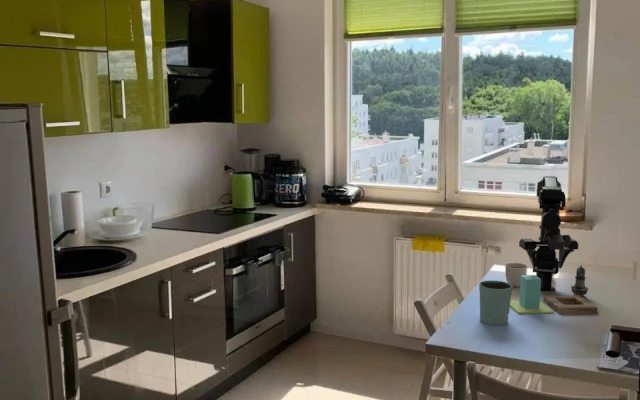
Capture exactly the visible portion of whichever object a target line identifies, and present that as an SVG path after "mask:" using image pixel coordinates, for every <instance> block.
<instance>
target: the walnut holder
mask: <svg viewBox="0 0 640 400" xmlns="http://www.w3.org/2000/svg"><path fill="white" fill-rule="evenodd" d="M542 303H544V304H545V305H546V306H547V307H549V308H550V309H551V310H552V311H554V312H556V313H557V314H558V315H563V314H566V315H567V314H570V315H571V314H573V315H575V314H576V315H577V314H598V311H599V310H598V309H599V308H598V306H596V305H595V304H594V303H592V302H590V301H589V300H588V299H585V298H583V297H582V296H580V295H575V294H573V295H572V294H571V295H566V294H565V295H563V294H562V295H543V298H542Z"/></svg>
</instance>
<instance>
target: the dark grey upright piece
mask: <svg viewBox="0 0 640 400" xmlns="http://www.w3.org/2000/svg"><path fill="white" fill-rule="evenodd" d="M575 274H576V275H575V277H574V278H575V283H574V285H571V286H570V289H571V293H573V295H580V296H582V297H583V298H585V299H586V300H588V297H586V295H587V293H588V291H589V288H588V287H586V283H585V281H586V279H587V278H586V269H585V268H584V267H583V266H582V265H581V264H580V266H579V267H577V268H576V273H575Z"/></svg>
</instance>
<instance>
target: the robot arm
mask: <svg viewBox="0 0 640 400" xmlns="http://www.w3.org/2000/svg"><path fill="white" fill-rule="evenodd" d="M536 198H537V200H538V205H539V209H540V210H541V219H540V225H539V227H538V228H539V229H540V232H539V233H540V235H539V237H538V240H537V241H535V240H534V239H532V238H521V239H519V242H518V246H519V247H520V248H521V249H522V250H524V251H526V253H527V255H528V258H529V261H530V263H531V266H532V273H536V274H535V275H536V276H537V277H538V278H540V279H541V290H540V291H556V288H555V287H554V286H553V275H557V274H559V269H562V268H563V266H564V263H565V261H566V260H567V257H568V256H569V255H570V254H571V253H573V252H575V250H579V242H578V241H577V240H575V239H574V238H571V235H570V234H562V233H561V228H559V227H560V226H561V223H562V219H561V215H560V213H561V212H560V210H561V211H564V208H566V200H567V199H566V194H565V191H563V189H562V184H561V183H560V182H559V181H558V176H554V175H545V176H542V179H541V180H539V182H537V183H536ZM536 249H537V250H536ZM556 250H557V251H558V257H557V252H556Z"/></svg>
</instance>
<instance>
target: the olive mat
mask: <svg viewBox="0 0 640 400" xmlns="http://www.w3.org/2000/svg"><path fill="white" fill-rule="evenodd" d="M519 301H520V299H519V300H517V299H516V300H513V299H512V300H510V308H511V310H513V311H514V312H515V313H517V314H518V315H522V314H523V315H524V314H525V315H527V314H528V315H534V314H535V315H536V314H537V315H538V314H539V315H540V314H555V310H553V309H552V308H551V307H550V306H548V305H547V304H546V303H545V302H543V301H542V300H540V307H539V308H524V307H523V306H521V305H520V304H519Z"/></svg>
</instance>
